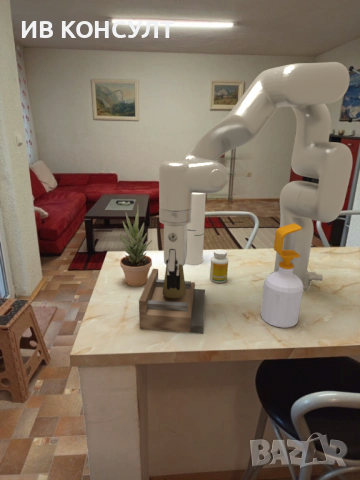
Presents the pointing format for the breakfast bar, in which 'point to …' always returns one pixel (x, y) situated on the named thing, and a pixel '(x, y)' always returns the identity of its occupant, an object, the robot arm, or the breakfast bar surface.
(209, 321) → the breakfast bar surface
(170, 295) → the olive rounded upright piece
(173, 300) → the loading dock
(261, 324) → the breakfast bar surface
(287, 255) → the soap bottle
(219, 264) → the supplement bottle
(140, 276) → the potted plant
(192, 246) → the cylindrical container
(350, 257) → the breakfast bar surface
